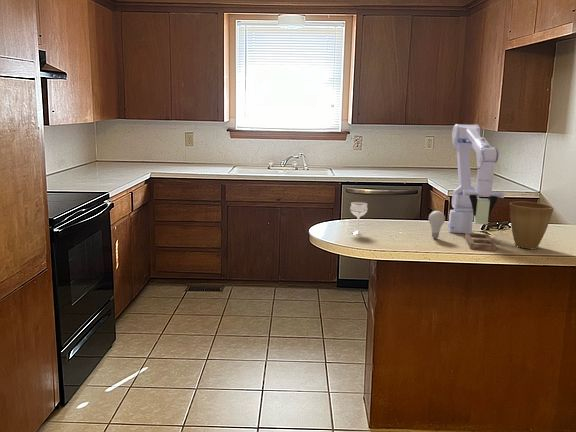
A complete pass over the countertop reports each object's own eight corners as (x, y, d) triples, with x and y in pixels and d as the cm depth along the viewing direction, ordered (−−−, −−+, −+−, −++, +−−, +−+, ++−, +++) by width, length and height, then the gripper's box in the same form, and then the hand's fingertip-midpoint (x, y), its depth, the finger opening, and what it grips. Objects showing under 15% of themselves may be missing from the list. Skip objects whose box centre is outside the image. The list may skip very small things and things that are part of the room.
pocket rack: (470, 248, 201) (470, 243, 201) (464, 237, 218) (465, 232, 217) (495, 250, 200) (495, 245, 199) (487, 239, 216) (488, 234, 216)
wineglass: (358, 235, 216) (359, 205, 213) (345, 232, 221) (346, 202, 218) (369, 233, 220) (371, 203, 218) (356, 230, 225) (358, 201, 223)
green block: (475, 223, 208) (477, 200, 206) (473, 221, 212) (475, 198, 210) (487, 224, 207) (489, 200, 205) (485, 222, 211) (488, 198, 209)
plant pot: (553, 253, 198) (559, 209, 195) (510, 250, 201) (515, 207, 197) (541, 243, 213) (546, 202, 210) (501, 240, 215) (505, 200, 212)
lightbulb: (432, 235, 219) (434, 208, 217) (446, 238, 215) (448, 211, 213) (423, 238, 215) (426, 210, 213) (437, 241, 211) (440, 213, 208)
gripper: (465, 180, 203) (462, 216, 206) (507, 182, 201) (503, 218, 204) (463, 177, 210) (460, 212, 213) (503, 179, 208) (499, 215, 210)
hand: (481, 215), depth 209 cm, fingers closed on green block, 4 cm apart
